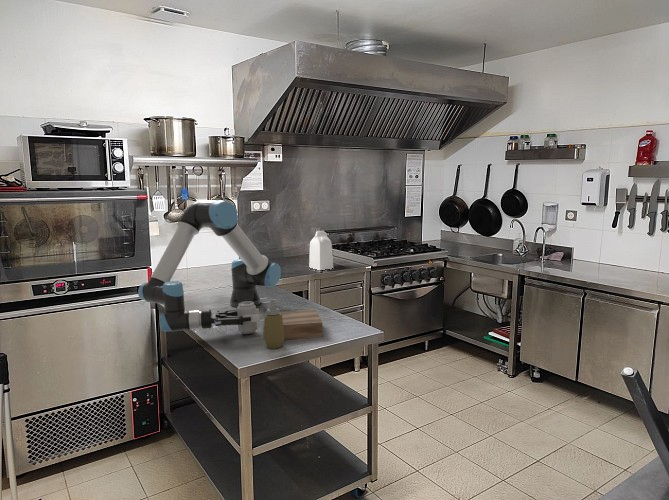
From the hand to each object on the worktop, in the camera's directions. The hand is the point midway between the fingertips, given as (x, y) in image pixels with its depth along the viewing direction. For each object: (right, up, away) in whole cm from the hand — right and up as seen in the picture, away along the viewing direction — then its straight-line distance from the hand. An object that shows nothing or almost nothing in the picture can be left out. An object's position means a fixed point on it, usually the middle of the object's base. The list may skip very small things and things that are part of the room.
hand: (259, 314), depth 194 cm
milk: (+22, +13, +132) cm, 134 cm away
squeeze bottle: (+8, -10, -14) cm, 19 cm away
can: (-5, -7, 0) cm, 8 cm away
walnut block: (+16, -7, +2) cm, 17 cm away
